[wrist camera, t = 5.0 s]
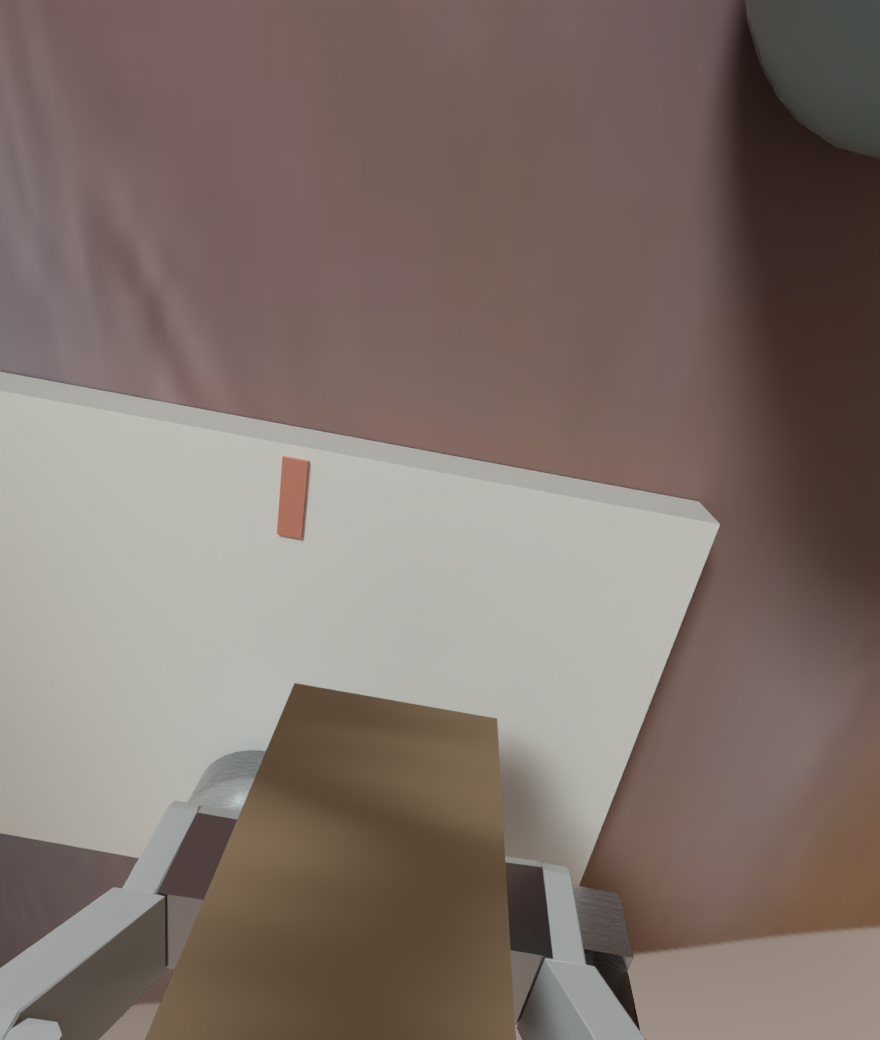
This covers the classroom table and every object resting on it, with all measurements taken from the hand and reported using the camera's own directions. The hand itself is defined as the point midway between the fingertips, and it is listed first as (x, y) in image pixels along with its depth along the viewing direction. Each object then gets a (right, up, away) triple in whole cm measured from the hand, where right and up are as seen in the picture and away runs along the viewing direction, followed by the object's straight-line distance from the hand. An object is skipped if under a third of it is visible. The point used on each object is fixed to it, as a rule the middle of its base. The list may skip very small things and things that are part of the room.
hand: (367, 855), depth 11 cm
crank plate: (-3, +1, +7) cm, 8 cm away
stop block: (0, +1, +2) cm, 2 cm away
